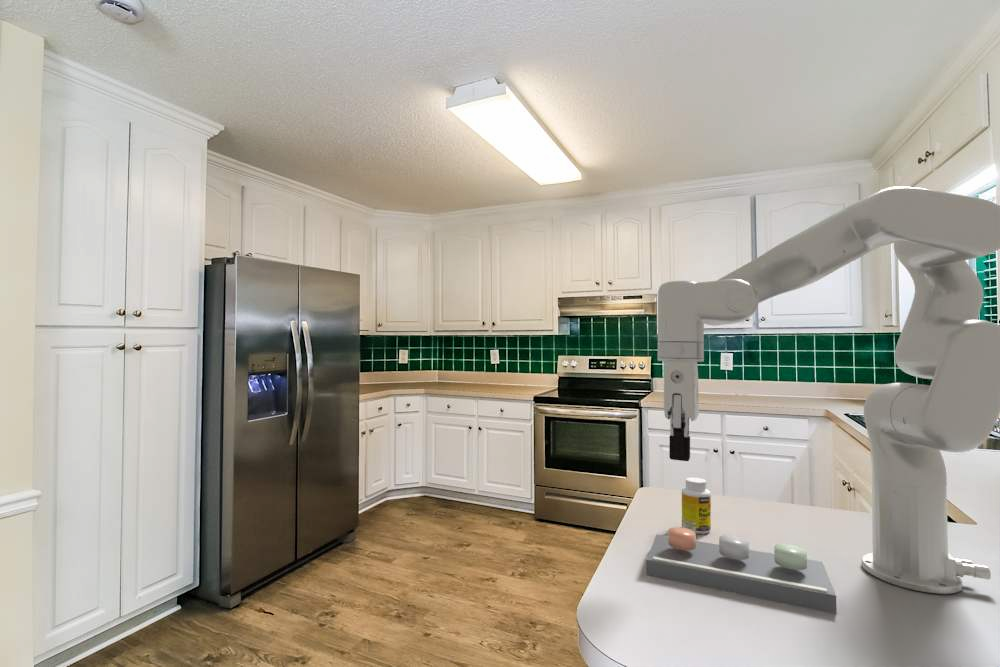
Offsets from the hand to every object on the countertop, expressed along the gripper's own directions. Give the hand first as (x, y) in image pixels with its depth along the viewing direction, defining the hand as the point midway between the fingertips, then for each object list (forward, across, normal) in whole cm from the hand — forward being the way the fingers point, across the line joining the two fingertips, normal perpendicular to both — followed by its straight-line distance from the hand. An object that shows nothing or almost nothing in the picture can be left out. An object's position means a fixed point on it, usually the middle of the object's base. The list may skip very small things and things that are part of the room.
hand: (679, 459), depth 83 cm
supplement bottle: (+18, +19, -2) cm, 27 cm away
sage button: (+14, 0, -16) cm, 22 cm away
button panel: (+18, 0, -8) cm, 20 cm away
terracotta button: (+15, 0, 0) cm, 15 cm away
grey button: (+14, 0, -8) cm, 17 cm away
